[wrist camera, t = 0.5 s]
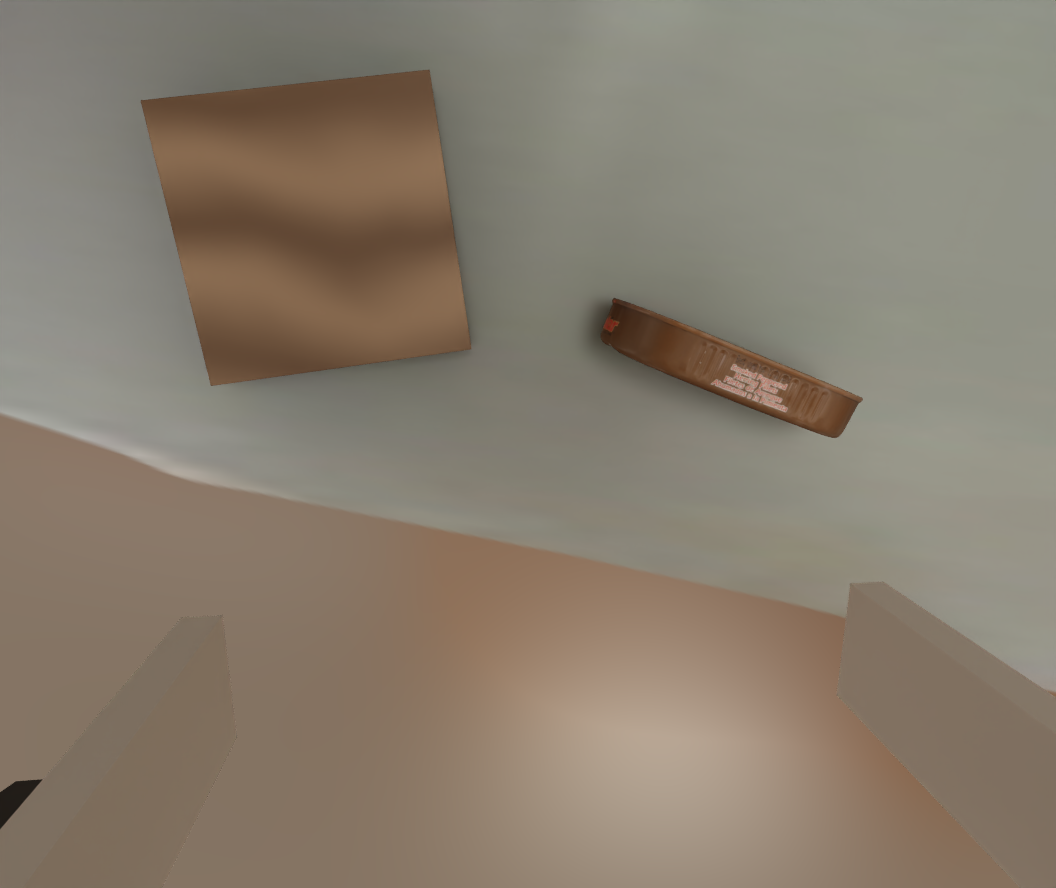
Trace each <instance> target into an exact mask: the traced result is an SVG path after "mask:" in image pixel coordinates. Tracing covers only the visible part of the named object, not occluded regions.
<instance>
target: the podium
mask: <svg viewBox="0 0 1056 888" xmlns="http://www.w3.org/2000/svg"><path fill="white" fill-rule="evenodd" d="M141 104H142V108H143V112H144V116H145V120H146V124H147V128H148V132H149V136H150V140H151V144H152V149H153V153H154V157H155V161H156V165H157V169H158V173H159V177H160V181H161V185H162V189H163V193H164V197H165V201H166V205H167V209H168V213H169V218H170V222H171V226H172V230H173V234H174V238H175V242H176V246H177V250H178V254H179V258H180V262H181V266H182V270H183V274H184V278H185V282H186V287H187V291H188V295H189V299H190V303H191V307H192V311H193V315H194V319H195V323H196V327H197V331H198V335H199V339H200V343H201V347H202V351H203V355H204V360H205V364H206V368H207V372H208V376H209V380H210V384H211V386H214V385H221V384H228V383H235V382H242V381H249V380H256V379H263V378H271V377H278V376H285V375H292V374H299V373H306V372H313V371H320V370H327V369H335V368H342V367H349V366H356V365H363V364H370V363H377V362H384V361H391V360H399V359H406V358H413V357H420V356H427V355H434V354H441V353H448V352H455V351H463V350H470V349H471V343H470V336H469V330H468V323H467V316H466V310H465V303H464V296H463V290H462V283H461V276H460V270H459V263H458V257H457V250H456V243H455V237H454V230H453V223H452V217H451V210H450V203H449V197H448V190H447V183H446V177H445V170H444V164H443V157H442V150H441V144H440V137H439V130H438V124H437V117H436V110H435V104H434V97H433V90H432V84H431V77H430V71H429V70H422V71H413V72H403V73H394V74H385V75H375V76H366V77H357V78H347V79H338V80H328V81H319V82H310V83H300V84H291V85H281V86H272V87H263V88H253V89H244V90H234V91H225V92H216V93H206V94H197V95H188V96H178V97H169V98H159V99H150V100H141Z"/></svg>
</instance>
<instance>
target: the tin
mask: <svg viewBox="0 0 1056 888" xmlns="http://www.w3.org/2000/svg"><path fill="white" fill-rule="evenodd" d="M612 302H613V305H612V307H611V310H610V312H609V315H608V317H607V319H606V322H605V324H604V327H603V330H602V333H601V339H602V341H603V342H604V343H605V344H607V345H610V346H612V347H613V348H614V349H616V350H617V351H618V352H620V353H622V354H624V355H626V356H628V357H630V358H632V359H634V360H636V361H638V362H640V363H643V364H645V365H647V366H649V367H652V368H654V369H657V370H659V371H661V372H664V373H666V374H668V375H671V376H673V377H676V378H678V379H680V380H683V381H685V382H688V383H690V384H692V385H695V386H697V387H700V388H702V389H705V390H707V391H710V392H712V393H715V394H717V395H720V396H722V397H725V398H727V399H729V400H732V401H734V402H737V403H739V404H742V405H744V406H747V407H749V408H752V409H755V410H757V411H760V412H762V413H765V414H768V415H770V416H773V417H776V418H778V419H781V420H784V421H786V422H789V423H792V424H794V425H797V426H799V427H802V428H805V429H807V430H810V431H813V432H816V433H818V434H821V435H824V436H828V437H832V438H836V437H839V436H840V435H841V434H842V432H843V431H844V429H845V427H846V425H847V424H848V422H849V420H850V418H851V416H852V414H853V412H854V411H855V409H856V407H857V405H858V403H860V402H861V401H862V400H863V399H862V398H861V397H859V396H856V395H854V394H852V393H850V392H848V391H845V390H843V389H840V388H838V387H835V386H833V385H831V384H829V383H826V382H824V381H821V380H819V379H816V378H814V377H812V376H809V375H807V374H804V373H802V372H800V371H797V370H795V369H792V368H790V367H787V366H785V365H782V364H780V363H777V362H775V361H773V360H770V359H768V358H766V357H763V356H761V355H758V354H756V353H753V352H751V351H748V350H746V349H744V348H741V347H739V346H736V345H734V344H731V343H729V342H727V341H724V340H722V339H720V338H717V337H715V336H712V335H710V334H708V333H705V332H703V331H700V330H698V329H695V328H693V327H690V326H688V325H685V324H682V323H680V322H678V321H676V320H673V319H670V318H667V317H665V316H662V315H660V314H657V313H655V312H653V311H650V310H647V309H644V308H642V307H639V306H636V305H634V304H631V303H628V302H625V301H622V300H619V299H616V298H614V299H613V300H612Z"/></svg>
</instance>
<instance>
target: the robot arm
mask: <svg viewBox="0 0 1056 888" xmlns="http://www.w3.org/2000/svg"><path fill="white" fill-rule="evenodd" d="M837 696H838V697H839V698H840V699H841V700H842V701H843V702H844V703H845V704H846V705H847V706H848V708H849V709H850V710H851V711H852V712H853V713H854V714H855V715H856V716H857V717H858V718H859V719H860V720H861V721H862V722H863V723H864V724H865V725H866V727H867V728H868V729H869V730H870V731H871V732H872V733H873V734H874V735H875V736H876V737H877V738H878V739H879V740H880V741H881V742H882V743H883V744H884V745H885V746H886V748H887V749H888V750H889V751H890V752H891V753H892V754H893V755H894V756H895V757H896V758H897V759H898V760H899V761H900V762H901V763H902V764H903V765H904V766H905V768H906V769H908V771H909V772H910V773H911V774H912V775H913V776H914V777H915V778H916V779H917V780H918V781H919V782H920V783H921V784H922V785H923V786H924V787H925V788H926V790H927V791H928V792H929V793H930V794H931V795H932V796H933V797H934V798H935V799H936V800H937V801H938V802H939V803H940V804H941V805H942V806H943V807H944V808H945V810H946V811H948V813H949V814H950V815H951V816H952V817H953V818H954V819H955V820H956V821H957V822H958V823H959V824H960V825H961V826H962V827H963V828H964V830H965V831H966V832H967V833H968V834H969V835H970V836H971V837H972V838H973V839H974V840H975V841H976V842H977V843H978V844H979V845H980V846H981V847H982V848H983V849H984V850H985V852H986V853H987V854H988V855H989V856H990V857H991V858H992V859H993V860H994V861H995V862H996V863H997V864H998V865H999V866H1000V867H1001V868H1002V869H1003V870H1004V871H1005V872H1006V874H1007V875H1008V876H1009V877H1010V878H1011V879H1012V880H1013V881H1014V882H1015V883H1016V884H1017V885H1018V886H1019V887H1020V888H1056V697H1054V696H1053V695H1051V694H1050V693H1049V692H1047V691H1046V690H1044V689H1043V688H1041V687H1040V686H1038V685H1037V684H1035V683H1034V682H1032V681H1031V680H1029V679H1028V678H1026V677H1025V676H1023V675H1022V674H1020V673H1019V672H1017V671H1016V670H1014V669H1013V668H1011V667H1010V666H1008V665H1007V664H1005V663H1004V662H1002V661H1001V660H999V659H998V658H996V657H995V656H993V655H992V654H990V653H989V652H987V651H986V650H984V649H983V648H981V647H980V646H978V645H977V644H975V643H974V642H972V641H971V640H969V639H968V638H966V637H965V636H963V635H962V634H960V633H959V632H957V631H956V630H954V629H953V628H952V627H950V626H949V625H947V624H946V623H944V622H943V621H941V620H940V619H938V618H937V617H935V616H934V615H932V614H931V613H929V612H928V611H926V610H925V609H923V608H922V607H920V606H919V605H917V604H916V603H914V602H913V601H911V600H910V599H908V598H907V597H905V596H904V595H902V594H901V593H899V592H898V591H896V590H895V589H893V588H892V587H890V586H889V585H887V584H886V583H884V582H869V583H850V591H849V599H848V607H847V616H846V625H845V632H844V640H843V648H842V657H841V665H840V673H839V681H838V690H837ZM236 738H237V733H236V725H235V716H234V708H233V700H232V691H231V683H230V674H229V666H228V658H227V649H226V641H225V633H224V625H223V616H221V615H220V616H202V617H182V618H181V619H180V620H179V621H178V622H177V623H176V625H175V626H174V627H173V628H172V629H171V631H170V632H169V633H168V634H167V635H166V637H164V639H163V640H162V641H161V642H160V643H159V644H158V646H157V647H156V648H155V649H154V650H153V651H152V653H151V654H150V655H149V656H148V657H147V658H146V660H145V661H144V662H143V663H142V664H141V665H140V667H139V668H138V669H137V670H136V671H135V672H134V674H133V675H132V676H131V677H130V678H129V679H128V681H127V682H126V683H125V684H124V685H123V686H122V688H121V689H120V690H119V691H118V692H117V693H116V695H115V696H114V697H113V698H112V699H111V700H110V702H109V703H108V704H107V705H106V706H105V708H104V709H103V710H102V711H101V712H100V713H99V715H98V716H97V717H96V718H95V719H94V720H93V721H92V723H91V724H90V725H89V726H88V727H87V729H86V730H85V731H84V732H83V733H82V734H81V736H80V737H79V738H78V739H77V740H76V741H75V743H74V744H73V745H72V746H71V747H70V748H69V750H68V751H67V752H66V753H65V754H64V755H63V757H62V758H61V759H60V760H59V761H58V762H57V764H56V765H55V766H54V767H53V768H52V769H51V771H50V772H49V773H48V774H47V775H46V777H45V778H44V779H42V780H28V781H16V782H14V783H13V784H12V785H10V786H9V787H7V788H6V789H4V790H3V791H1V792H0V888H162V887H163V885H164V883H165V881H166V879H167V877H168V875H169V873H170V871H171V869H172V867H173V865H174V863H175V861H176V859H177V857H178V855H179V853H180V851H181V849H182V847H183V845H184V843H185V841H186V839H187V837H188V835H189V833H190V831H191V829H192V827H193V825H194V823H195V821H196V819H197V817H198V815H199V813H200V811H201V809H202V807H203V805H204V803H205V800H206V798H207V797H208V794H209V793H210V791H211V788H212V787H213V785H214V783H215V781H216V778H217V776H218V775H219V773H220V771H221V769H222V766H223V764H224V762H225V760H226V758H227V756H228V754H229V752H230V750H231V748H232V746H233V744H234V742H235V740H236Z"/></svg>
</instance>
